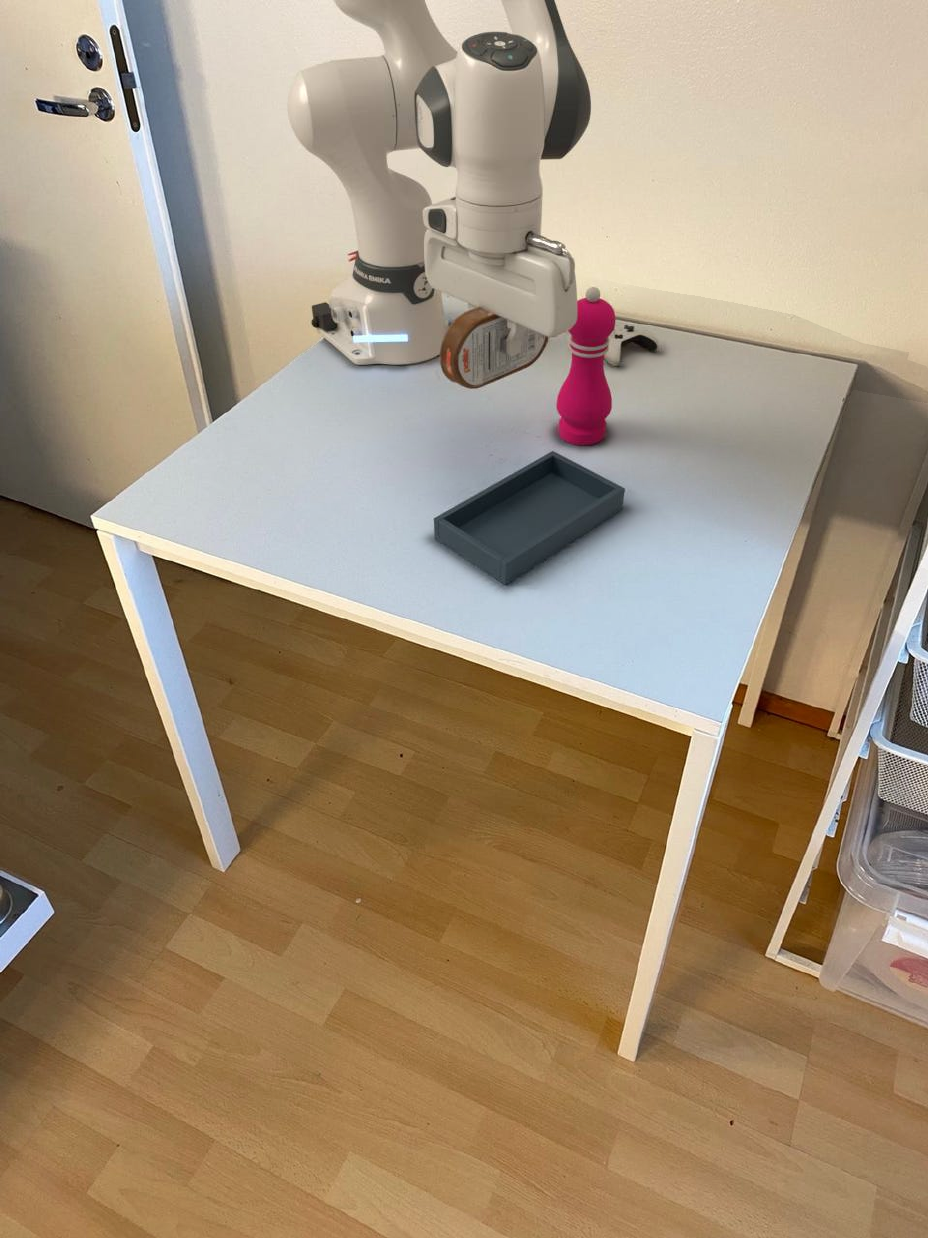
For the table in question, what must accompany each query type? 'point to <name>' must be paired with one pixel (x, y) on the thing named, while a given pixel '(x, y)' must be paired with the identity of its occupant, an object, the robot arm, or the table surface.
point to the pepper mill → (587, 373)
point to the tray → (528, 516)
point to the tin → (484, 349)
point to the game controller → (625, 336)
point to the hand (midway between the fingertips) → (498, 347)
